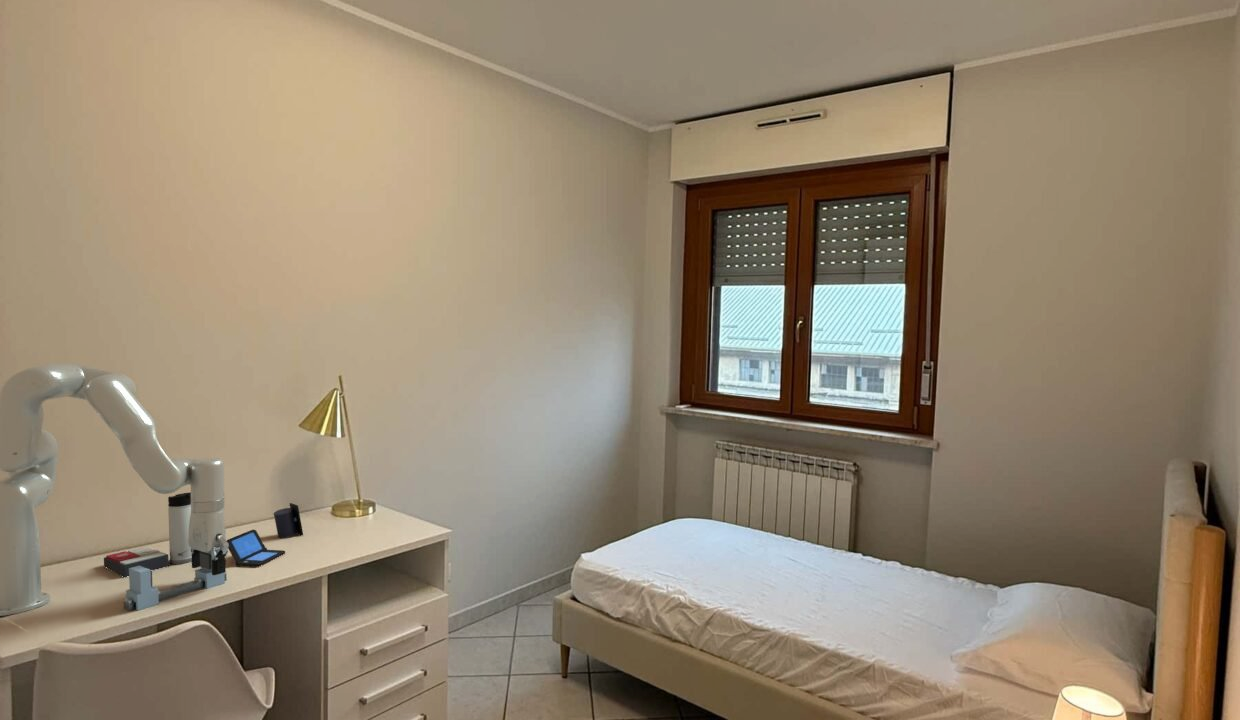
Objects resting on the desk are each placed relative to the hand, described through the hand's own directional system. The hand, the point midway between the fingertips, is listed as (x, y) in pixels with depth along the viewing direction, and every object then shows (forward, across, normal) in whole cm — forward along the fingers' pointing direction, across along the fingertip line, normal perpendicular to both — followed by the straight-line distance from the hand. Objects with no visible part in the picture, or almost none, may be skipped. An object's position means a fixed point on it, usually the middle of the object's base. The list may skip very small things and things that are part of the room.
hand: (208, 570), depth 177 cm
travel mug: (+4, -26, +6) cm, 27 cm away
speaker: (+4, -22, +36) cm, 42 cm away
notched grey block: (+4, 0, 0) cm, 4 cm away
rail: (+4, 0, -8) cm, 9 cm away
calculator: (+5, -32, -3) cm, 33 cm away
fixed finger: (+4, 0, -16) cm, 16 cm away
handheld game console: (+4, -9, +18) cm, 20 cm away
